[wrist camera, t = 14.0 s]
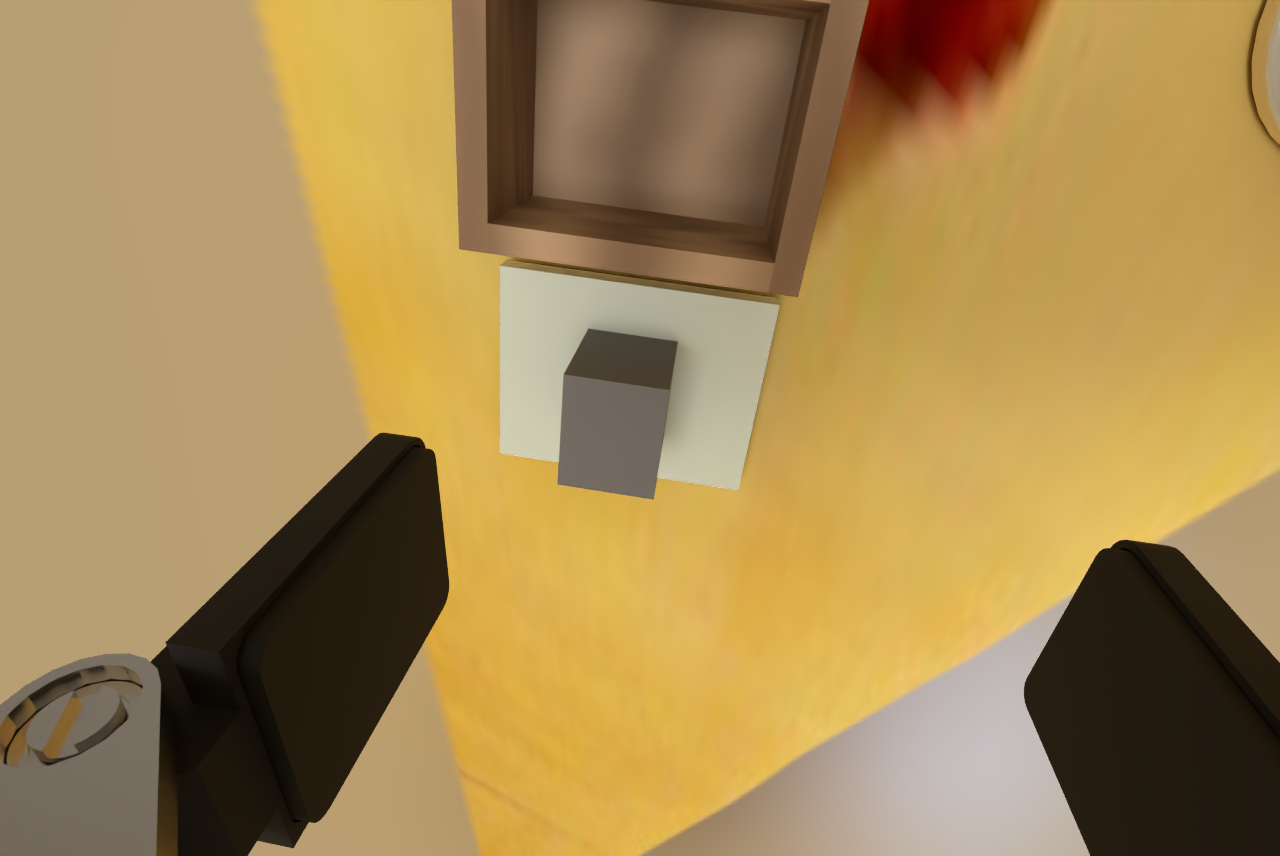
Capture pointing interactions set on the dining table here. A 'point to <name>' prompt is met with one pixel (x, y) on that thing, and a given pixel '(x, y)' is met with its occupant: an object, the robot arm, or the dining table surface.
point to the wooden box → (651, 132)
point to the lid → (629, 377)
